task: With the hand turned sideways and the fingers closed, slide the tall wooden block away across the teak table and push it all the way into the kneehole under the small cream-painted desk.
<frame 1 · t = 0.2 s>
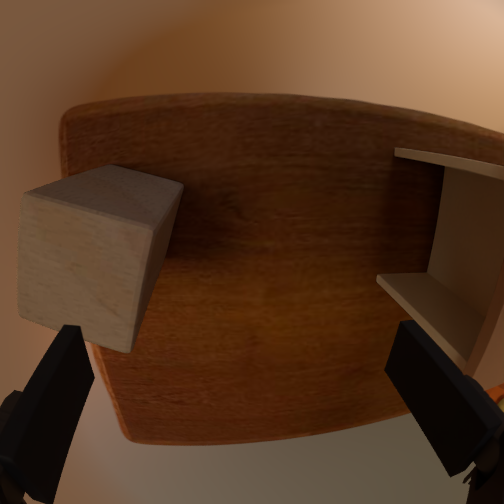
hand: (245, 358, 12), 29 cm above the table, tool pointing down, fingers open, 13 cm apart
desk: (404, 218, 42), on the table
wooden block: (136, 211, 38), on the table
alarm clock: (481, 364, 58), on the table
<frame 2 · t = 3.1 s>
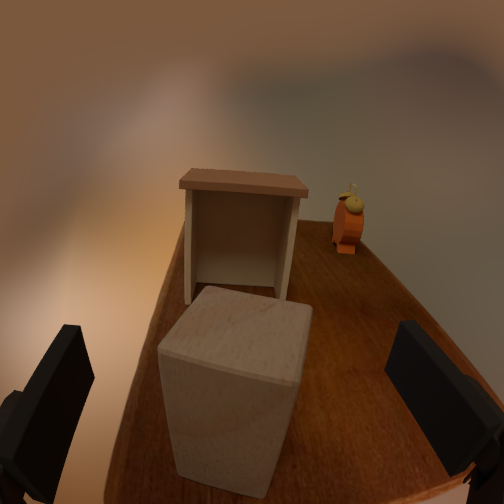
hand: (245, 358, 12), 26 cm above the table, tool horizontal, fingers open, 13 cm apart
desk: (234, 300, 65), on the table
wooden block: (232, 457, 32), on the table
alarm clock: (343, 247, 99), on the table
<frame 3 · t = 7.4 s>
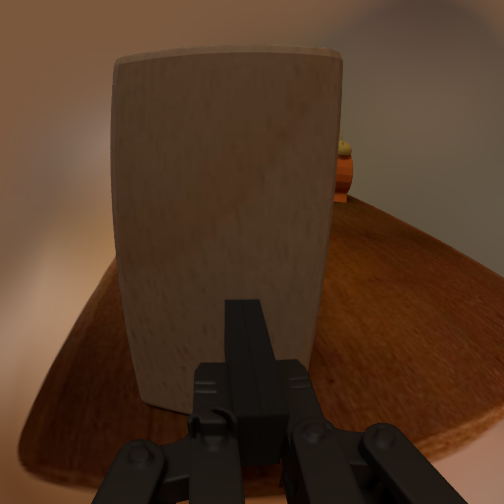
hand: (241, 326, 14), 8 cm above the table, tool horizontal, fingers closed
wooden block: (230, 375, 22), on the table, touching gripper
alarm clock: (333, 199, 91), on the table
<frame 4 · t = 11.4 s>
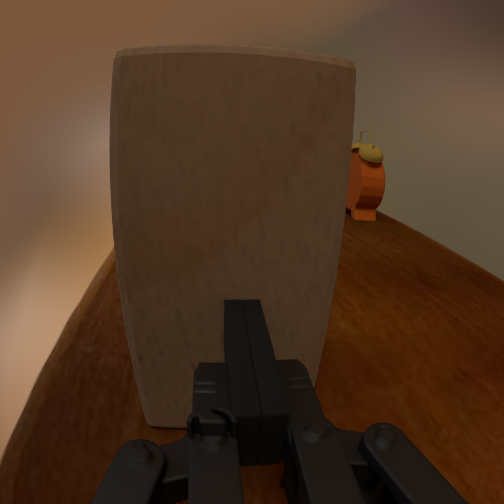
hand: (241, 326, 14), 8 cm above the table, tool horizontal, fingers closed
wooden block: (223, 380, 22), on the table, touching gripper
alarm clock: (358, 215, 74), on the table
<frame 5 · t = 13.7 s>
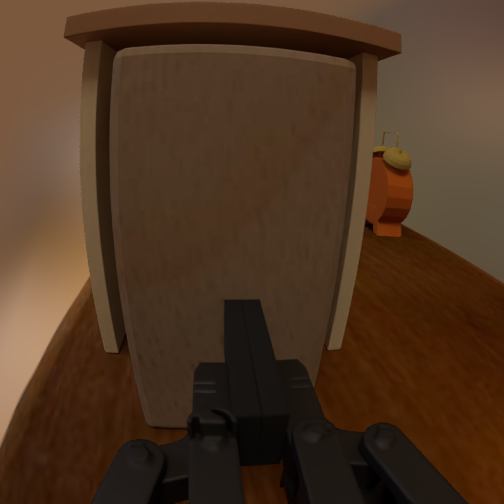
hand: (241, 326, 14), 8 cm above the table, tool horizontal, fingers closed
desk: (222, 334, 27), on the table
wooden block: (223, 380, 22), on the table, touching gripper
alarm clock: (379, 230, 63), on the table
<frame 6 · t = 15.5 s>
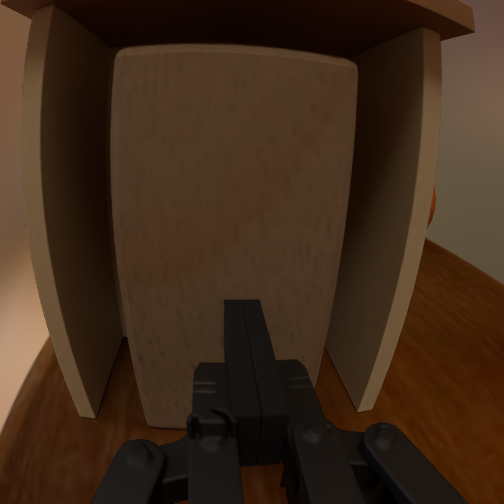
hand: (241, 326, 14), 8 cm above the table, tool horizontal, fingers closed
desk: (225, 393, 20), on the table
wooden block: (223, 380, 22), on the table, touching desk, gripper
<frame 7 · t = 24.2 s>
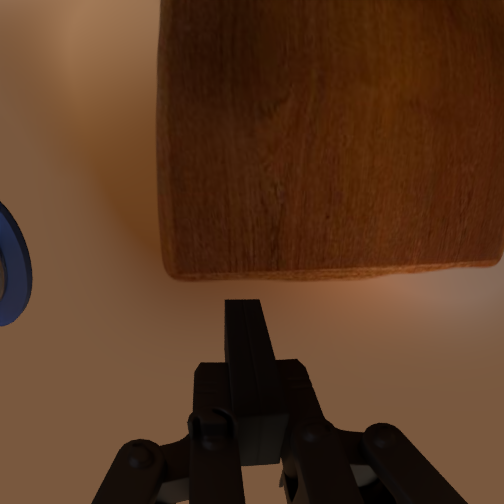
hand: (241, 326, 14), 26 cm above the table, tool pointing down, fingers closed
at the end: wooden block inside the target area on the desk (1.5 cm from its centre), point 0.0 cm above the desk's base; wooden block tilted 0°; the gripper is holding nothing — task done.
